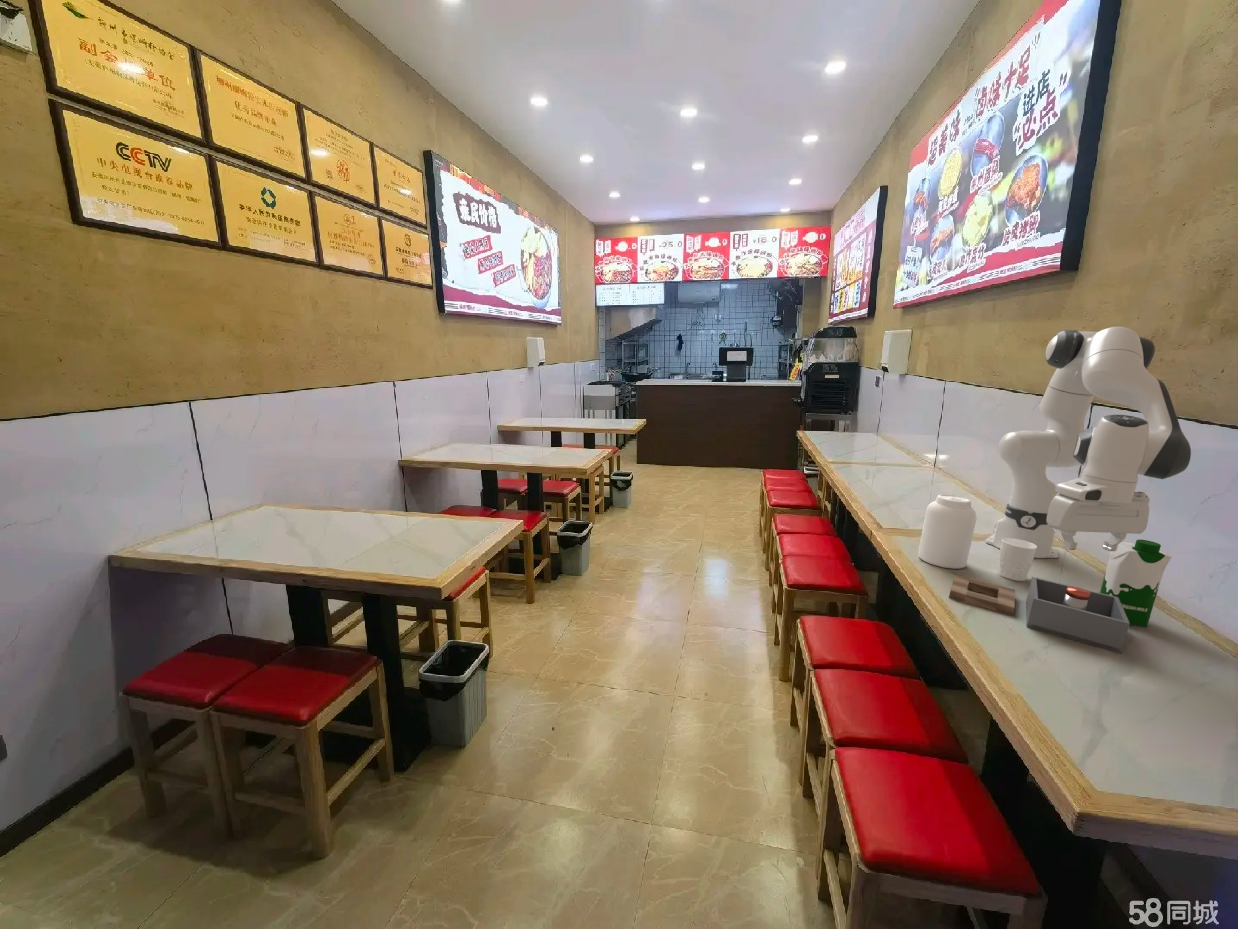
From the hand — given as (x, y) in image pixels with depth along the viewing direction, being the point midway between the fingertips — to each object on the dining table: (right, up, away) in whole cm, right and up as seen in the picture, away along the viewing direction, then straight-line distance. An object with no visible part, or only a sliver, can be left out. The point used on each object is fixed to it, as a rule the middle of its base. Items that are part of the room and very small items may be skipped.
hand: (1088, 549), depth 115 cm
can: (-8, -10, +39) cm, 41 cm away
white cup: (+6, -13, +31) cm, 34 cm away
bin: (-1, -18, +4) cm, 19 cm away
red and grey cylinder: (-1, -17, +4) cm, 18 cm away
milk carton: (+16, -18, +10) cm, 26 cm away
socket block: (-13, -15, +16) cm, 25 cm away
